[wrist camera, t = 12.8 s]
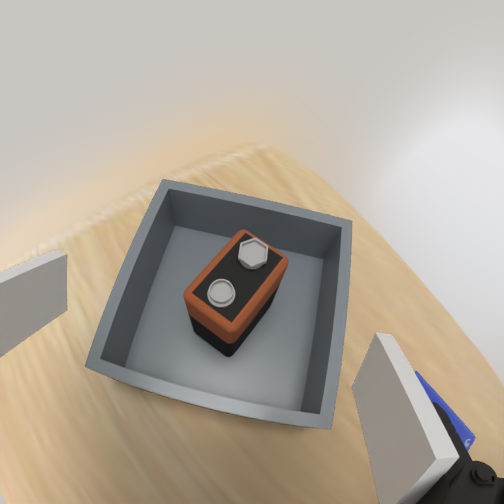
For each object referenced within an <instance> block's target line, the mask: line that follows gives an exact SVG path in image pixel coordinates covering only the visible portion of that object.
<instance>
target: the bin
mask: <svg viewBox="0 0 504 504" xmlns="http://www.w3.org/2000/svg"><path fill="white" fill-rule="evenodd" d="M242 229H245V230H247V231H248V232H250V233H252V234H253V235H255V236H256V237H258V238H259V239H261V240H262V241H264V242H265V243H267V244H268V245H270V246H271V247H273V248H275V249H276V250H278V251H279V252H281V253H282V254H284V255H285V256H287V257H288V260H289V263H288V266H287V269H286V271H285V273H284V276H283V278H282V281H281V283H280V285H279V288H278V290H277V293H276V295H275V297H274V300H273V302H272V304H271V306H270V308H269V309H268V310H267V312H266V313H265V314H264V316H263V317H262V318H261V320H260V321H259V322H258V324H257V325H256V326H255V328H254V329H253V330H252V332H251V333H250V334H249V335H248V337H247V338H246V339H245V341H244V342H243V343H242V344H241V346H240V347H239V348H238V350H237V351H236V352H235V353H234V354H233V355H232V356H231V357H226V356H225V355H223V354H222V353H221V352H219V351H218V350H217V349H215V348H214V347H213V346H211V345H210V344H209V343H207V342H206V341H205V340H203V339H202V338H201V337H199V336H198V335H197V334H196V333H195V332H194V331H193V327H192V324H191V321H190V318H189V314H188V311H187V307H186V304H185V301H184V297H183V293H184V291H185V289H186V288H187V287H188V286H189V285H190V284H191V283H192V281H193V280H194V279H195V278H196V277H197V276H198V275H199V274H200V273H201V271H202V270H203V269H204V268H205V267H206V266H207V265H208V264H209V263H210V262H211V260H212V259H213V258H214V257H215V256H216V255H217V254H218V253H219V252H220V251H221V249H222V248H223V247H224V246H225V245H226V244H227V243H228V242H229V241H230V240H231V239H232V237H233V236H234V235H235V234H236V233H237V232H238V231H240V230H242ZM351 245H352V221H350V220H347V219H343V218H339V217H335V216H331V215H327V214H323V213H319V212H315V211H311V210H307V209H303V208H299V207H294V206H290V205H286V204H282V203H277V202H273V201H268V200H264V199H260V198H255V197H250V196H246V195H241V194H237V193H232V192H227V191H222V190H217V189H212V188H208V187H202V186H197V185H192V184H187V183H182V182H177V181H171V180H166V179H162V181H161V183H160V185H159V187H158V189H157V191H156V193H155V195H154V197H153V199H152V201H151V203H150V205H149V207H148V209H147V211H146V213H145V216H144V218H143V220H142V222H141V224H140V226H139V228H138V230H137V233H136V235H135V237H134V239H133V241H132V244H131V246H130V248H129V250H128V253H127V255H126V257H125V260H124V262H123V264H122V267H121V269H120V272H119V274H118V276H117V279H116V281H115V284H114V286H113V289H112V291H111V294H110V296H109V299H108V302H107V304H106V307H105V309H104V312H103V315H102V317H101V320H100V323H99V326H98V329H97V331H96V334H95V337H94V340H93V343H92V346H91V349H90V352H89V355H88V358H87V361H86V364H85V367H87V368H89V369H91V370H93V371H96V372H98V373H100V374H103V375H105V376H107V377H110V378H112V379H114V380H117V381H120V382H123V383H125V384H128V385H131V386H134V387H137V388H140V389H143V390H146V391H149V392H152V393H155V394H158V395H161V396H164V397H168V398H171V399H174V400H178V401H181V402H185V403H188V404H192V405H196V406H199V407H203V408H207V409H211V410H215V411H219V412H224V413H228V414H233V415H237V416H242V417H247V418H252V419H257V420H262V421H268V422H273V423H279V424H286V425H292V426H299V427H307V428H319V429H331V426H332V420H333V415H334V409H335V403H336V396H337V390H338V383H339V376H340V369H341V362H342V354H343V345H344V337H345V327H346V317H347V306H348V294H349V281H350V265H351Z"/></svg>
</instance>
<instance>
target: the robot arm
mask: <svg viewBox="0 0 504 504" xmlns="http://www.w3.org/2000/svg"><path fill="white" fill-rule="evenodd" d="M65 311H67V254H66V253H63V252H60V251H57V250H54V251H51V252H48V253H46V254H43V255H41V256H38V257H36V258H33V259H31V260H28V261H26V262H23V263H21V264H18V265H16V266H13V267H11V268H8V269H6V270H4V271H1V272H0V357H2V356H3V355H4V354H6V353H7V352H8V351H10V350H11V349H13V348H14V347H15V346H17V345H18V344H20V343H21V342H22V341H24V340H25V339H26V338H28V337H29V336H31V335H32V334H34V333H35V332H36V331H38V330H39V329H41V328H42V327H44V326H45V325H46V324H48V323H49V322H51V321H52V320H54V319H55V318H57V317H58V316H59V315H61V314H62V313H64V312H65ZM352 390H353V394H354V398H355V402H356V406H357V410H358V413H359V417H360V421H361V425H362V429H363V434H364V438H365V442H366V446H367V450H368V455H369V459H370V463H371V468H372V473H373V477H374V482H375V486H376V491H377V496H378V501H379V504H504V478H497V475H496V473H495V471H494V470H493V469H492V468H491V467H490V466H488V465H487V464H485V463H483V462H480V461H472V459H471V457H470V455H469V453H468V451H467V450H466V448H465V446H464V444H463V442H462V440H461V438H460V436H459V434H458V433H456V429H455V427H454V425H453V424H451V423H452V422H451V420H450V418H449V416H448V415H447V413H446V411H445V410H444V409H443V408H441V407H440V406H439V405H438V404H437V403H436V402H431V401H430V399H429V397H428V395H427V394H426V392H425V390H424V388H423V386H422V385H421V383H420V381H419V379H418V378H417V376H416V374H415V372H414V371H413V369H412V367H411V365H410V364H409V362H408V360H407V359H406V357H405V355H404V354H403V352H402V350H401V349H400V347H399V345H398V344H397V342H396V340H395V339H394V337H393V335H389V334H384V333H379V332H375V335H374V337H373V340H372V342H371V344H370V347H369V349H368V352H367V354H366V356H365V359H364V361H363V363H362V366H361V368H360V370H359V372H358V374H357V377H356V379H355V381H354V383H353V385H352Z"/></svg>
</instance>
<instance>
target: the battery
mask: <svg viewBox="0 0 504 504" xmlns="http://www.w3.org/2000/svg"><path fill="white" fill-rule="evenodd" d="M288 263H289V260H288V257H287V256H285V255H284V254H282V253H281V252H279V251H278V250H276V249H275V248H273V247H271V246H270V245H268V244H267V243H265V242H264V241H262V240H261V239H259V238H258V237H256V236H255V235H253V234H252V233H250V232H248V231H247V230H245V229H242V230H240V231H238V232H237V233H236V234H235V235H234V236H233V237H232V239H231V240H230V241H229V242H228V243H227V244H226V245H225V246H224V247H223V248H222V249H221V251H220V252H219V253H218V254H217V255H216V256H215V257H214V258H213V259H212V260H211V262H210V263H209V264H208V265H207V266H206V267H205V268H204V269H203V270H202V271H201V273H200V274H199V275H198V276H197V277H196V278H195V279H194V280H193V281H192V283H191V284H190V285H189V286H188V287H187V288H186V289H185V291H184V293H183V297H184V301H185V304H186V307H187V311H188V314H189V318H190V321H191V324H192V327H193V331H194V332H195V333H196V334H197V335H198V336H199V337H201V338H202V339H203V340H205V341H206V342H207V343H209V344H210V345H211V346H213V347H214V348H215V349H217V350H218V351H219V352H221V353H222V354H223V355H225V356H226V357H231V356H232V355H233V354H234V353H235V352H236V351H237V350H238V348H239V347H240V346H241V344H242V343H243V342H244V341H245V339H246V338H247V337H248V335H249V334H250V333H251V332H252V330H253V329H254V328H255V326H256V325H257V324H258V322H259V321H260V320H261V318H262V317H263V316H264V314H265V313H266V312H267V310H268V309H269V308H270V306H271V304H272V302H273V300H274V297H275V295H276V293H277V290H278V288H279V285H280V283H281V281H282V278H283V276H284V273H285V271H286V269H287V266H288Z"/></svg>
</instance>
